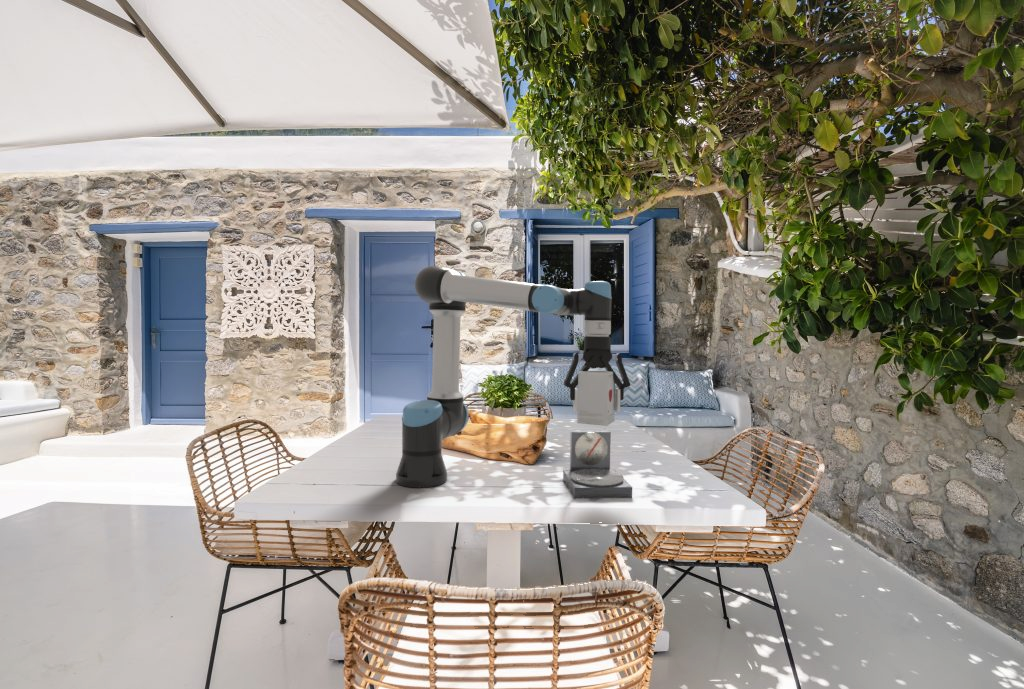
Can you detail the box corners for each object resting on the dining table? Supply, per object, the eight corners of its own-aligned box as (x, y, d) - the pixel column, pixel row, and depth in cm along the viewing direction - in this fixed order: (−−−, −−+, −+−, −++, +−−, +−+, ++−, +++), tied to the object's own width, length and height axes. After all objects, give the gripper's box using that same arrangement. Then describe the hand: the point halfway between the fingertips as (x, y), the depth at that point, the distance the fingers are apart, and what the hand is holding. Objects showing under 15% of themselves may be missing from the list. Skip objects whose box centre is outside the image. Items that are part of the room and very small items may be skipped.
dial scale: (574, 498, 143) (575, 444, 143) (563, 479, 161) (564, 430, 161) (632, 497, 145) (633, 443, 144) (614, 478, 163) (615, 430, 162)
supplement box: (607, 426, 145) (608, 372, 145) (576, 423, 149) (577, 371, 148) (615, 421, 153) (616, 370, 153) (586, 419, 157) (586, 369, 157)
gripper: (558, 335, 146) (557, 413, 147) (642, 336, 148) (641, 413, 148) (554, 335, 153) (553, 409, 154) (634, 335, 155) (633, 409, 156)
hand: (596, 411), depth 151 cm, fingers closed on supplement box, 12 cm apart
